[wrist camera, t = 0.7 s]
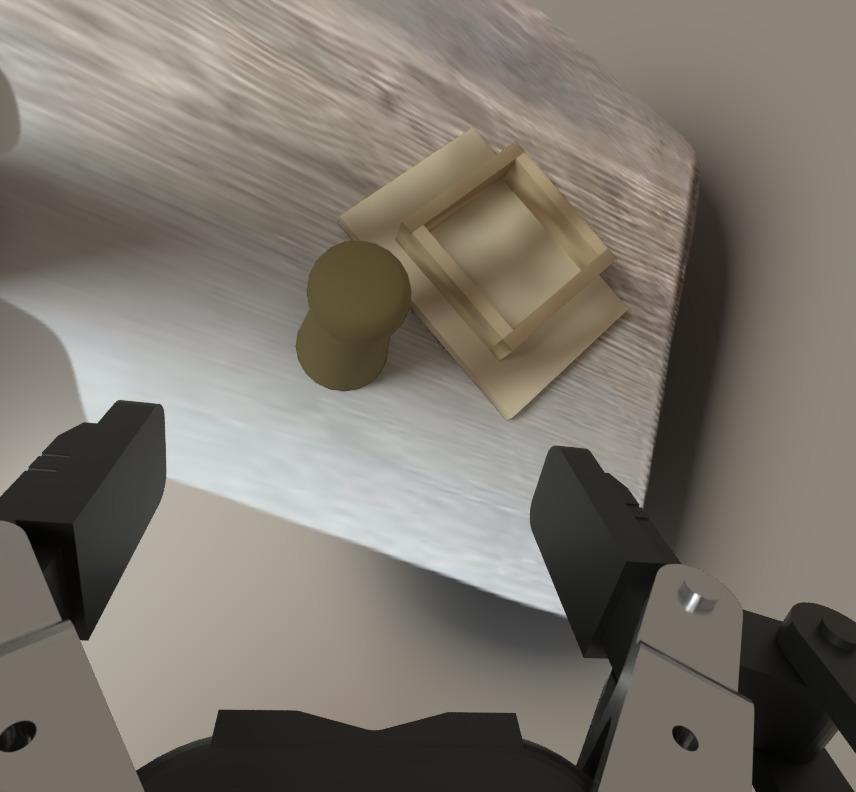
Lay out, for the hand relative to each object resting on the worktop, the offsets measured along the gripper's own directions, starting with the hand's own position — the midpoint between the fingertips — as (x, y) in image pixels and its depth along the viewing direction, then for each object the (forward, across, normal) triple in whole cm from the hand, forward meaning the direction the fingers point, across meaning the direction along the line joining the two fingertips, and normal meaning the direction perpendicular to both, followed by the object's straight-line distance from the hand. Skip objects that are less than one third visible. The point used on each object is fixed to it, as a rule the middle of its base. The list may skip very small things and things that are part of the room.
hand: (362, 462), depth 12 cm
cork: (+25, 0, +8) cm, 26 cm away
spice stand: (+30, -9, +2) cm, 31 cm away
